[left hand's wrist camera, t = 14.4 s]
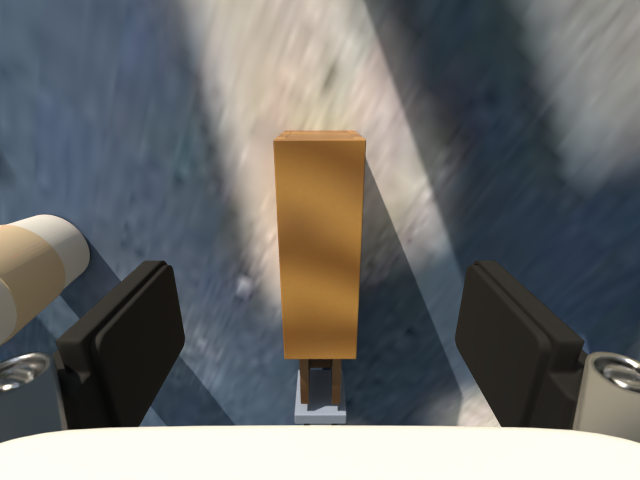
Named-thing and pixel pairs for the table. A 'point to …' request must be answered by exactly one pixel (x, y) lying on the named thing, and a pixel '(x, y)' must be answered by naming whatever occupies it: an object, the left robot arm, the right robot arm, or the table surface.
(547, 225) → the table surface
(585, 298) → the table surface
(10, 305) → the coffee cup
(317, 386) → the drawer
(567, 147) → the table surface
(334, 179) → the cabinet
